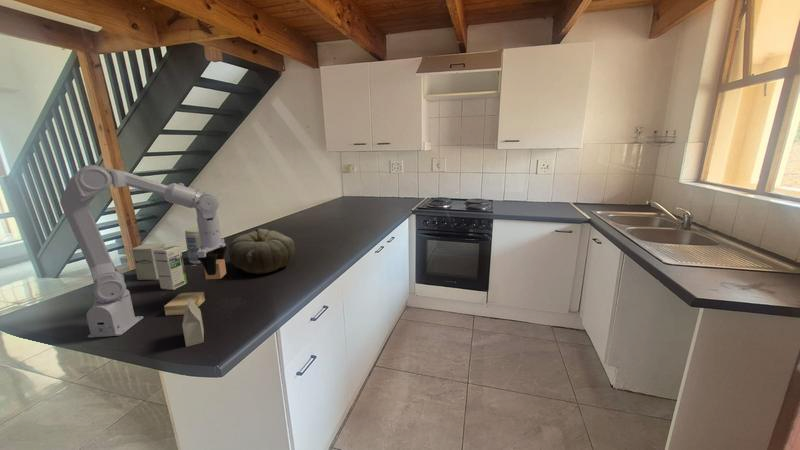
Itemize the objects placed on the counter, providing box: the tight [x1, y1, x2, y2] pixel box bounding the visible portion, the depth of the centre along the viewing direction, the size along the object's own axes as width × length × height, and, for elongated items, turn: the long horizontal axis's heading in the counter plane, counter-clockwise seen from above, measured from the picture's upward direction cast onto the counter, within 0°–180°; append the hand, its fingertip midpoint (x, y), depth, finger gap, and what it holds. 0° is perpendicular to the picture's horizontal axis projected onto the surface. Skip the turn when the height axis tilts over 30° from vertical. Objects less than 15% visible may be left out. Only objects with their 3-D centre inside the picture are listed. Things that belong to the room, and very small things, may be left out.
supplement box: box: [131, 243, 166, 281], centre depth 121 cm, size 7×7×13 cm
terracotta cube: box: [203, 259, 227, 280], centre depth 102 cm, size 4×4×5 cm
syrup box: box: [153, 245, 188, 291], centre depth 112 cm, size 6×6×14 cm
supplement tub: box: [184, 226, 202, 265], centre depth 139 cm, size 10×10×15 cm
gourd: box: [228, 228, 296, 275], centre depth 130 cm, size 25×25×17 cm
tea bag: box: [181, 298, 205, 348], centre depth 81 cm, size 4×7×10 cm, turn 31°
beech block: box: [163, 291, 206, 316], centre depth 98 cm, size 9×7×3 cm
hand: (215, 271), depth 102 cm, fingers closed on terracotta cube, 4 cm apart
